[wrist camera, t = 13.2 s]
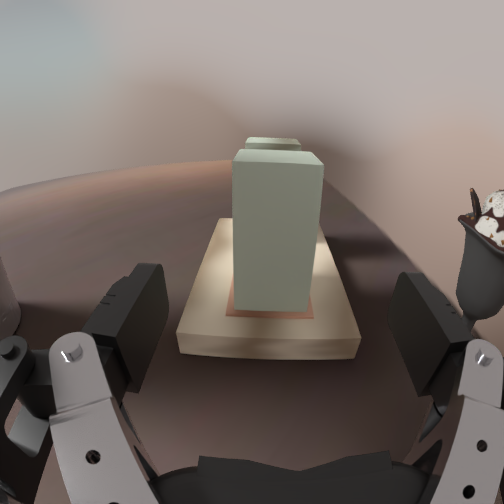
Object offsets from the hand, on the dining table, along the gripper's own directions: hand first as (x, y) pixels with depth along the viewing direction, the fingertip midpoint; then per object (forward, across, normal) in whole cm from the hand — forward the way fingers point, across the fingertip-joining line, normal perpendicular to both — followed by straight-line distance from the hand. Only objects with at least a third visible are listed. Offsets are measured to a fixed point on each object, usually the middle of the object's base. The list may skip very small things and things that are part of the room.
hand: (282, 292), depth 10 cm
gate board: (+16, 0, +10) cm, 18 cm away
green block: (+11, 0, +7) cm, 13 cm away
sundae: (+6, -15, +10) cm, 19 cm away
